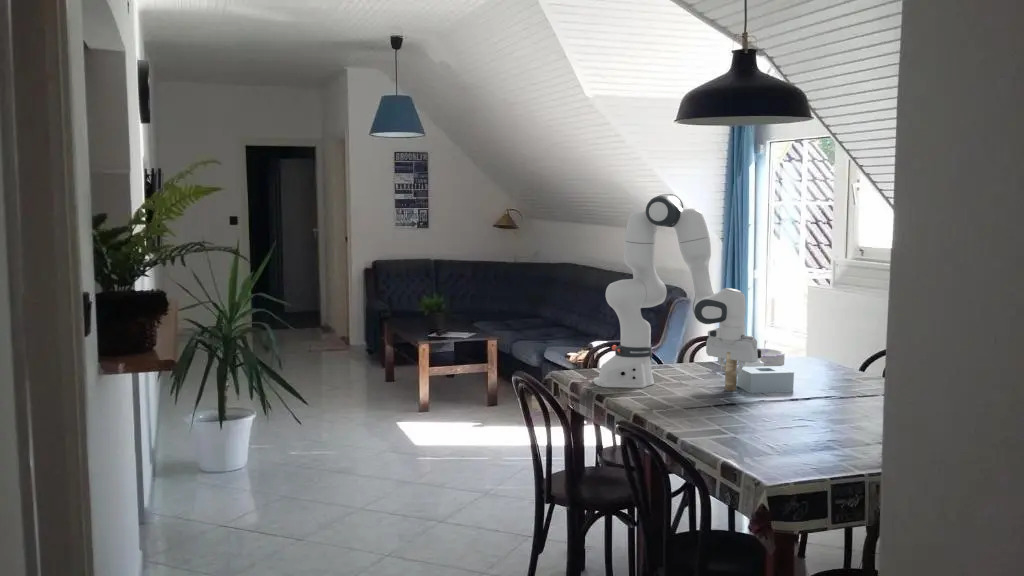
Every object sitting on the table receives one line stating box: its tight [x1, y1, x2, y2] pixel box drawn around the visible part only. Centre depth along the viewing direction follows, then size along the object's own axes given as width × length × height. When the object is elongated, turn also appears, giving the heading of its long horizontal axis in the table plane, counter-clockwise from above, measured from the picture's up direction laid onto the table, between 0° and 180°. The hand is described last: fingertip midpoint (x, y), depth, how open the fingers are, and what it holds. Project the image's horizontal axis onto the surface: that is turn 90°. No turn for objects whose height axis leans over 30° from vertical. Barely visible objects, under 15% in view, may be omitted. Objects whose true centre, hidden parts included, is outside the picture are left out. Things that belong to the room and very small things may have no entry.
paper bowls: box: [757, 347, 786, 367], centre depth 352 cm, size 15×15×8 cm
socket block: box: [736, 366, 795, 394], centre depth 319 cm, size 16×12×7 cm
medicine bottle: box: [743, 349, 764, 367], centre depth 334 cm, size 7×7×12 cm
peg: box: [724, 352, 738, 392], centre depth 317 cm, size 4×4×14 cm
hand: (731, 371), depth 317 cm, fingers open, 5 cm apart
